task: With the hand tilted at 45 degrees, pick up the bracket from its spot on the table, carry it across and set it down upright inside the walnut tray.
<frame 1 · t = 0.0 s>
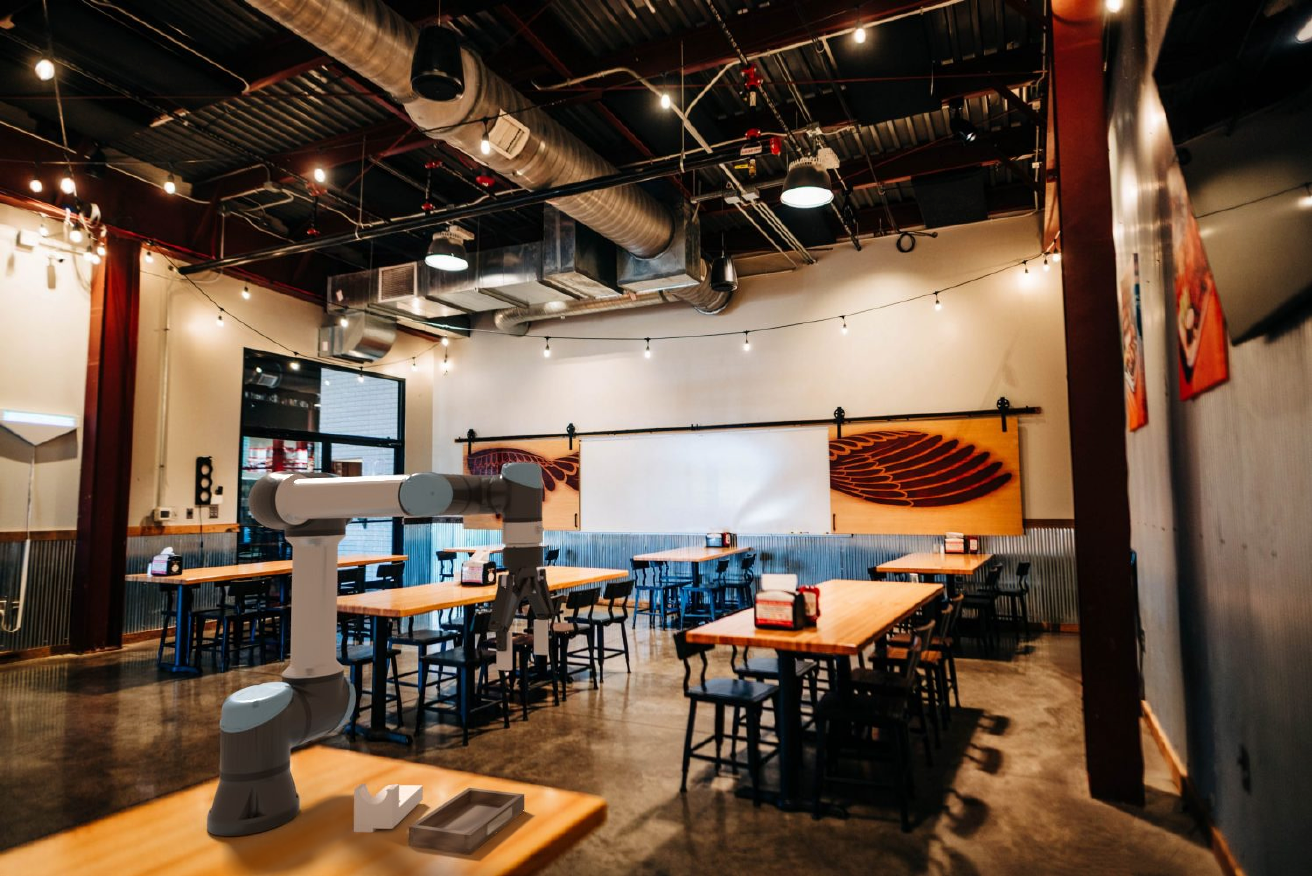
hand: (523, 662, 136), 28 cm above the table, tool pointing down, fingers open, 13 cm apart
walnut tray: (469, 827, 131), on the table
bracket: (389, 819, 137), on the table
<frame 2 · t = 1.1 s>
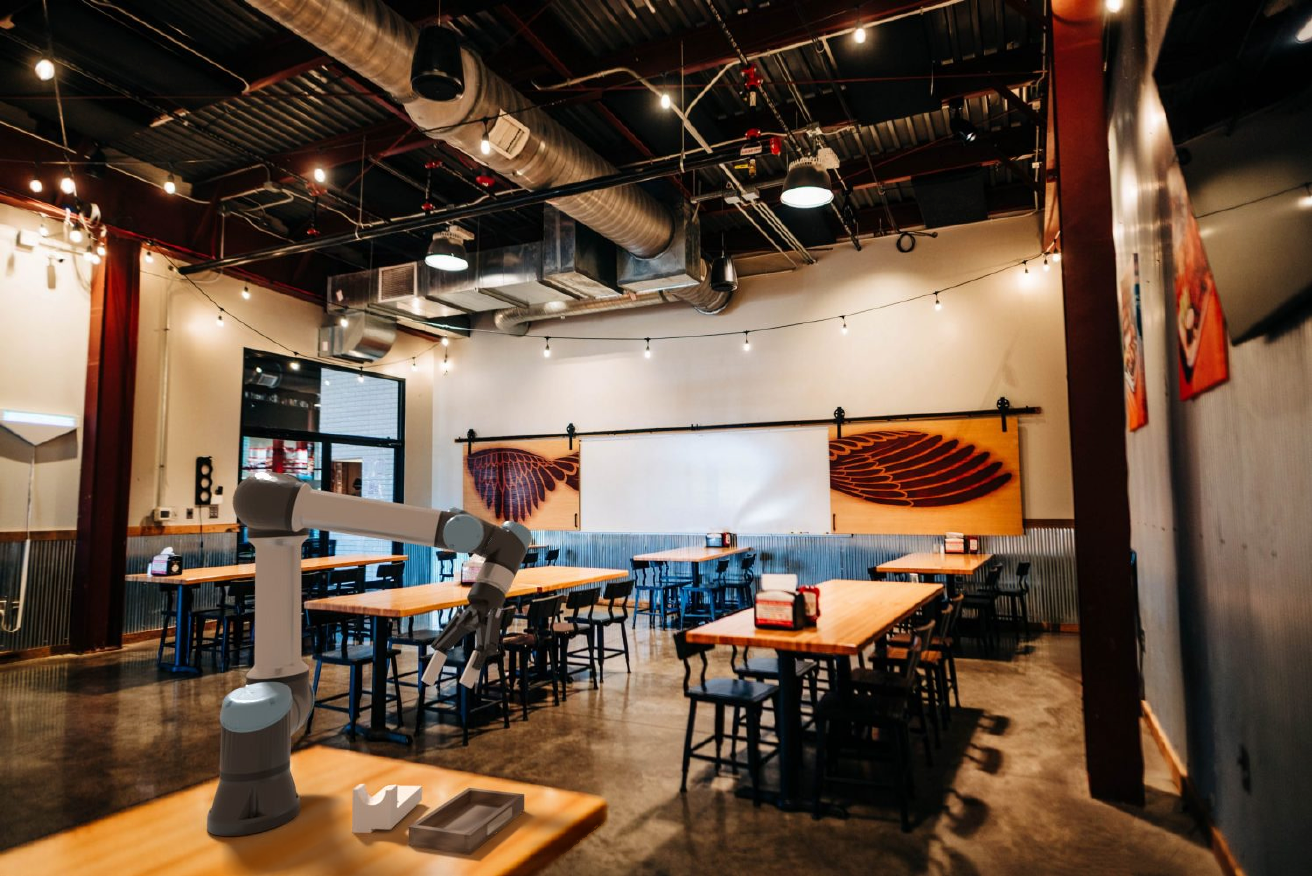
hand: (445, 684, 147), 22 cm above the table, tool tilted 35°, fingers open, 13 cm apart
nothing on the table moved.
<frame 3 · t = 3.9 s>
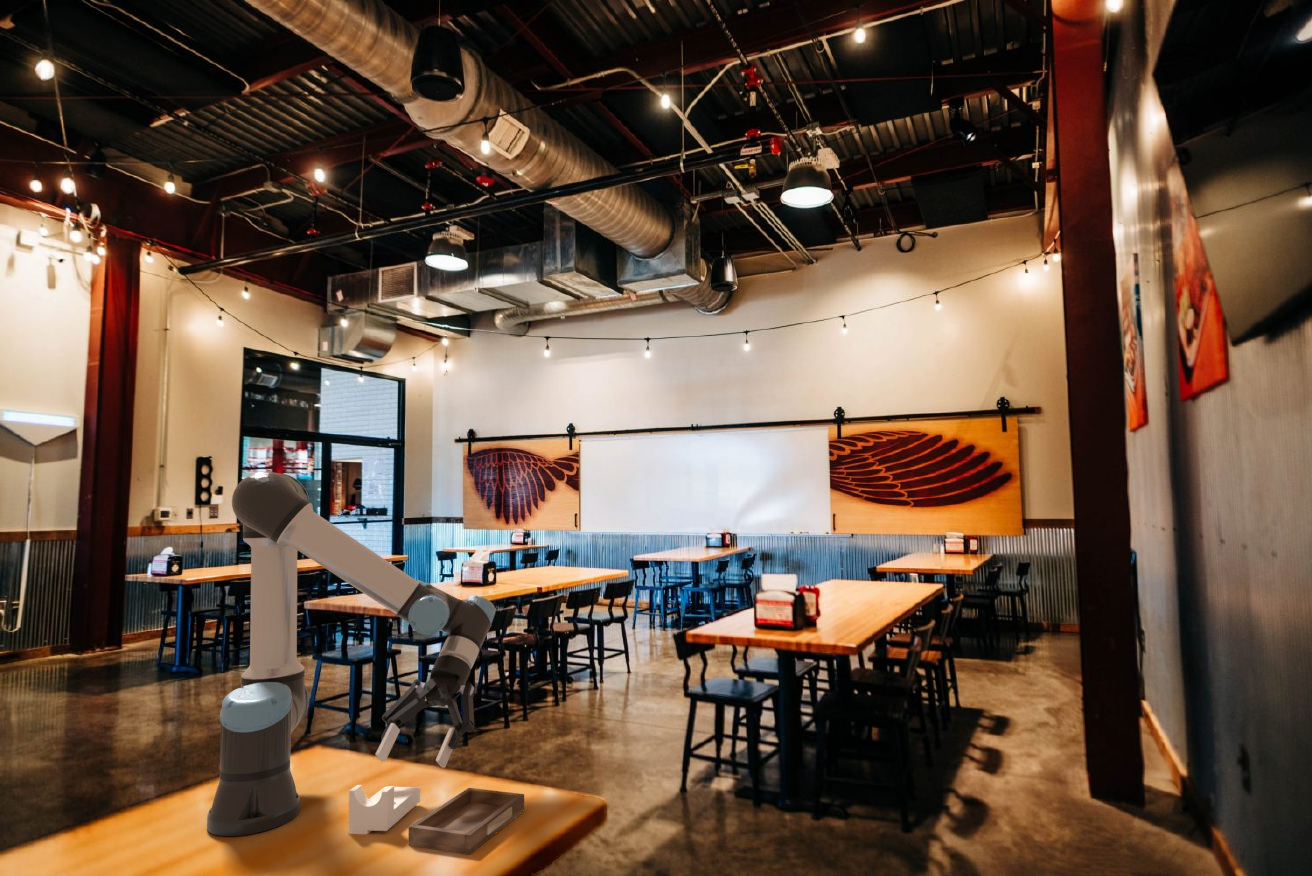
hand: (409, 761, 141), 9 cm above the table, tool tilted 45°, fingers open, 13 cm apart
nothing on the table moved.
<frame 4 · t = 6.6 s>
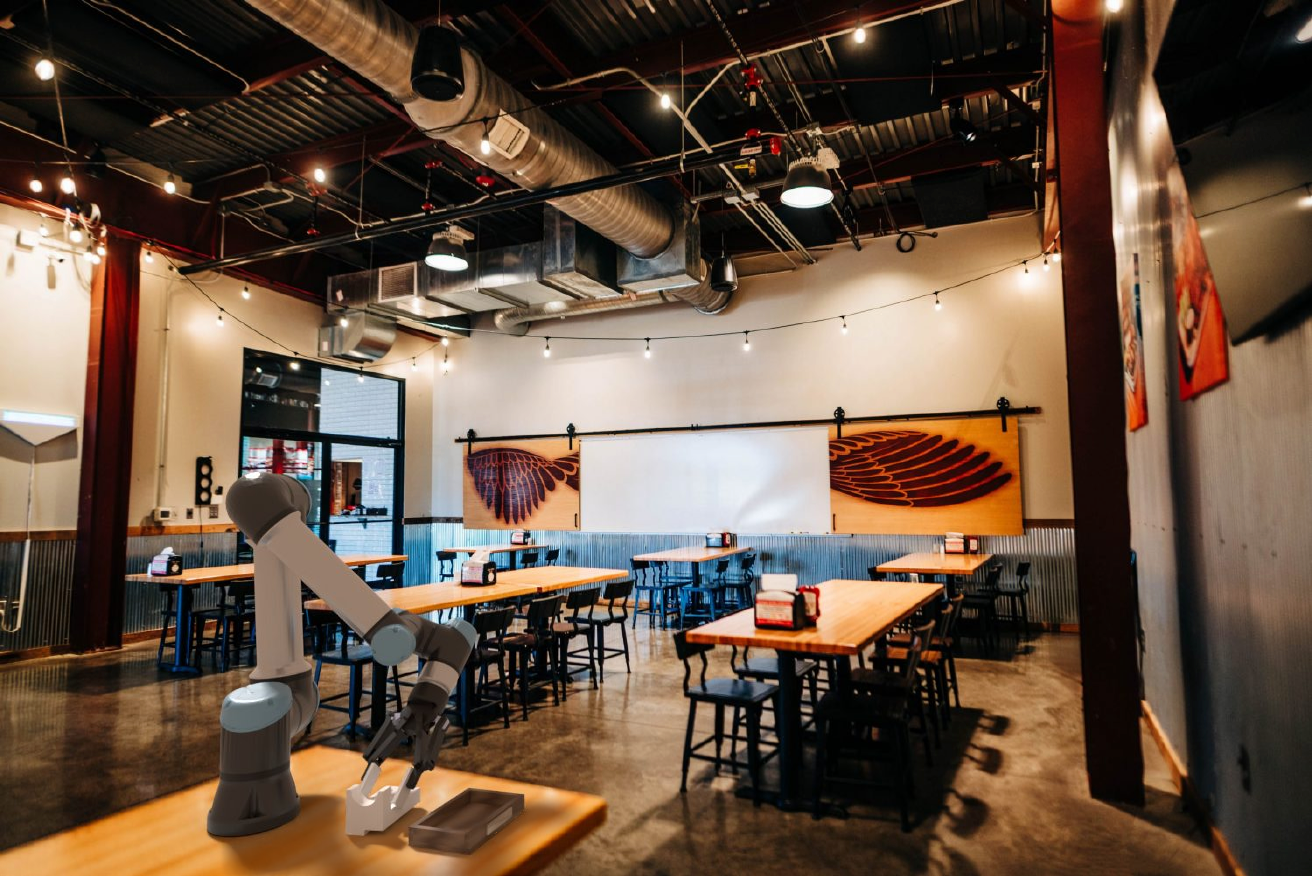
hand: (378, 803, 134), 4 cm above the table, tool tilted 45°, fingers closed on bracket, 8 cm apart
bracket: (384, 821, 136), on the table, touching gripper
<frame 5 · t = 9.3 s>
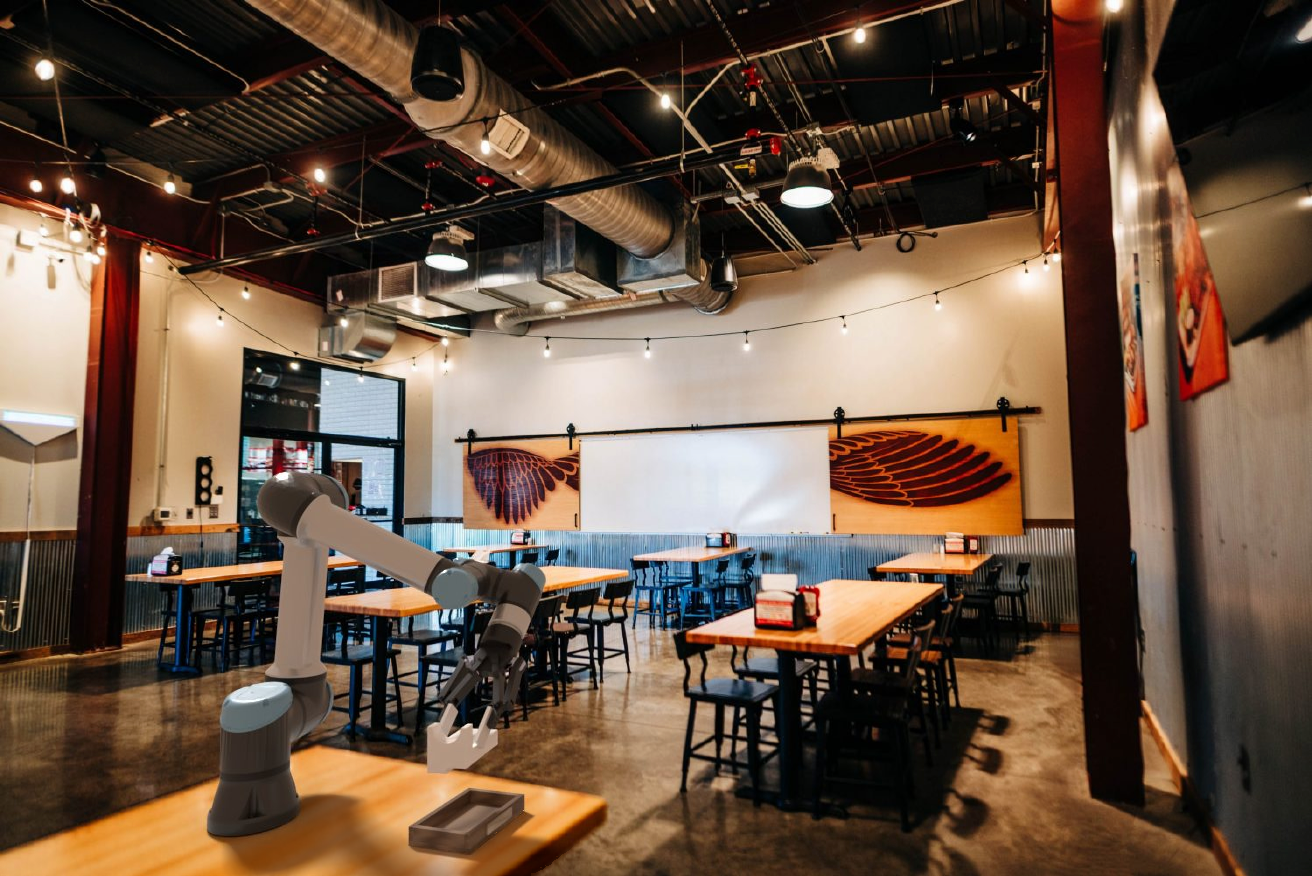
hand: (458, 743, 130), 16 cm above the table, tool tilted 45°, fingers closed on bracket, 7 cm apart
bracket: (464, 761, 131), point 12 cm above the table, touching gripper
when the fingers open (6 cm above the table, at t = 12.4 s): bracket stays where it is, resting on walnut tray.
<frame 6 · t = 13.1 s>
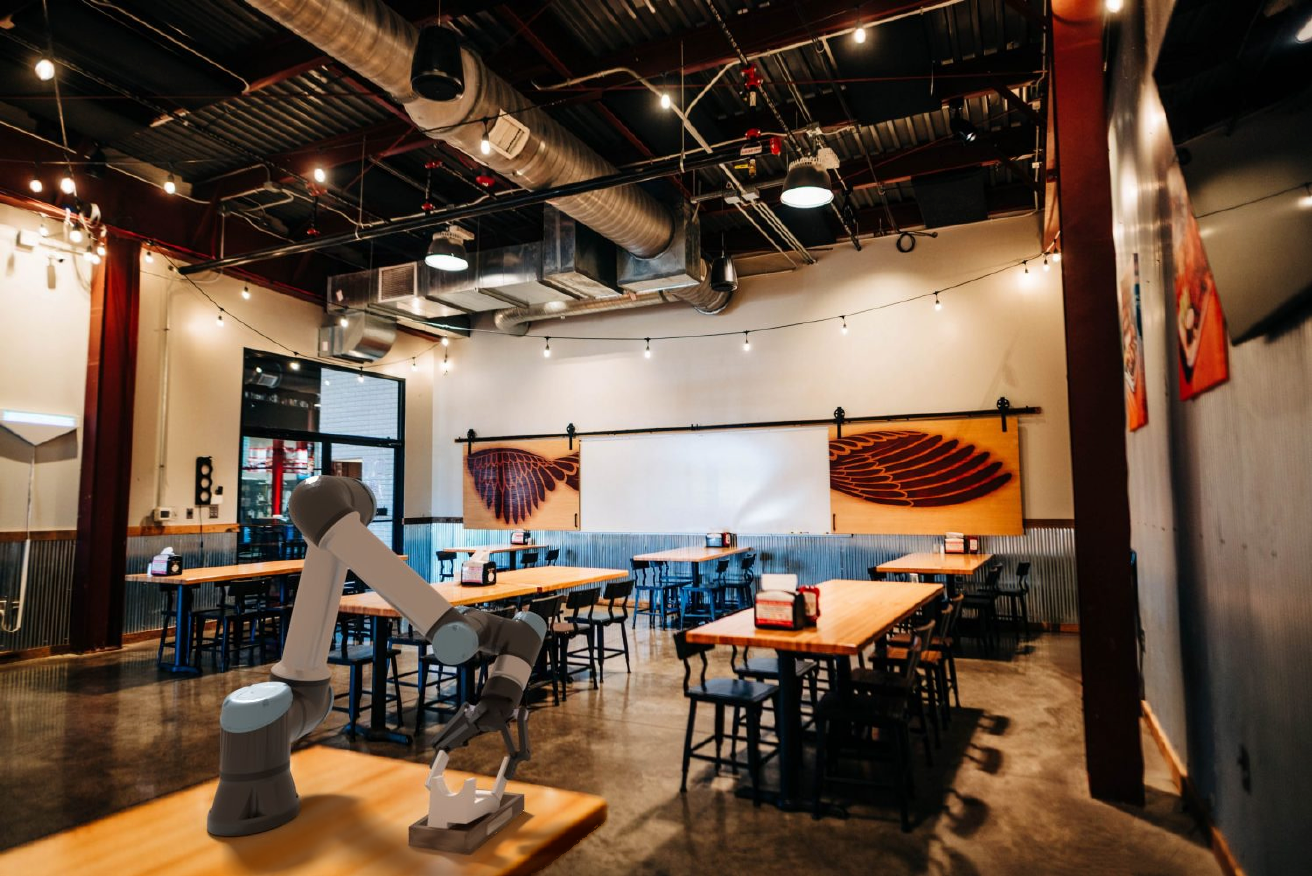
hand: (461, 793, 130), 7 cm above the table, tool tilted 45°, fingers open, 13 cm apart
bracket: (464, 820, 130), point 2 cm above the table, touching walnut tray
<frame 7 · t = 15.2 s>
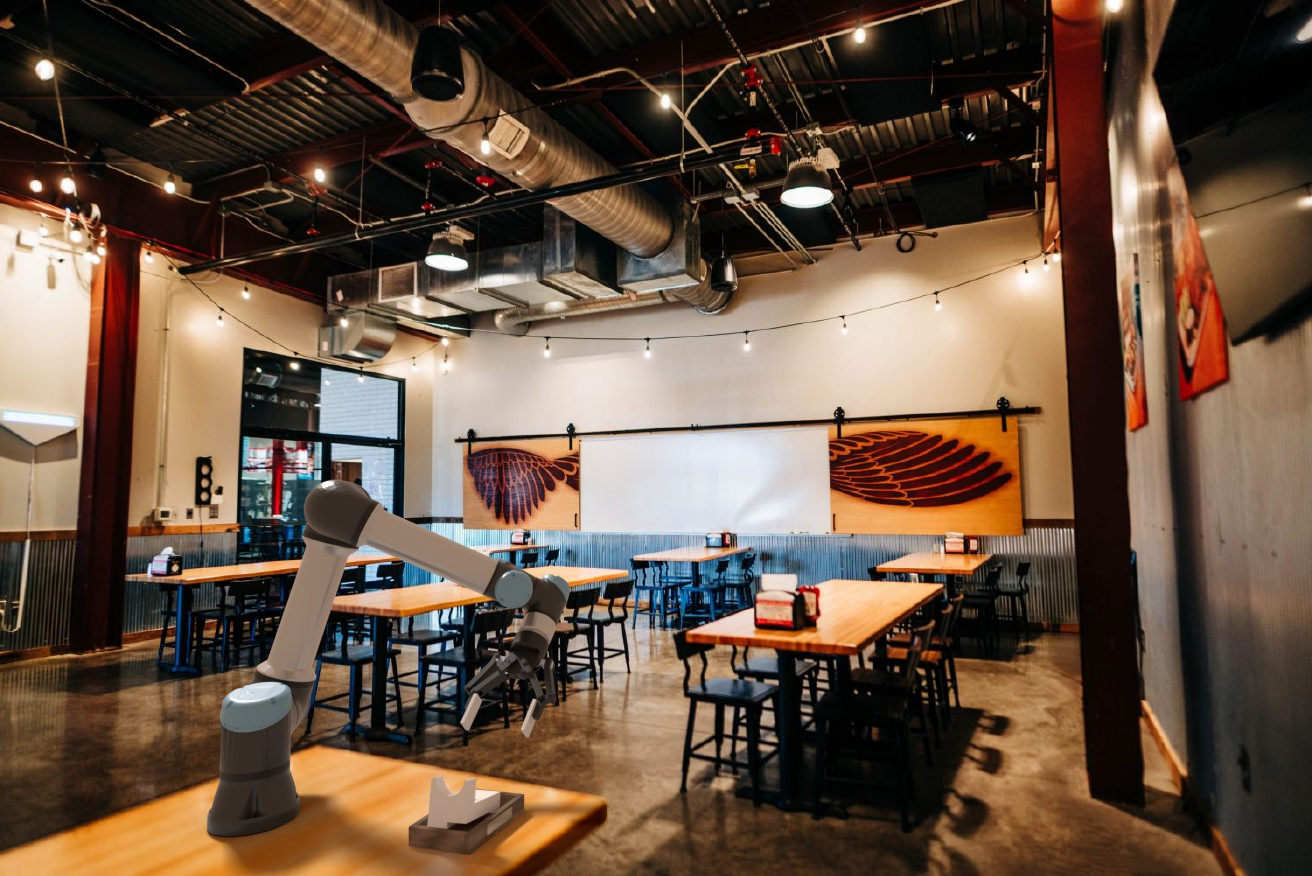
hand: (494, 730, 145), 13 cm above the table, tool tilted 45°, fingers open, 13 cm apart
nothing on the table moved.
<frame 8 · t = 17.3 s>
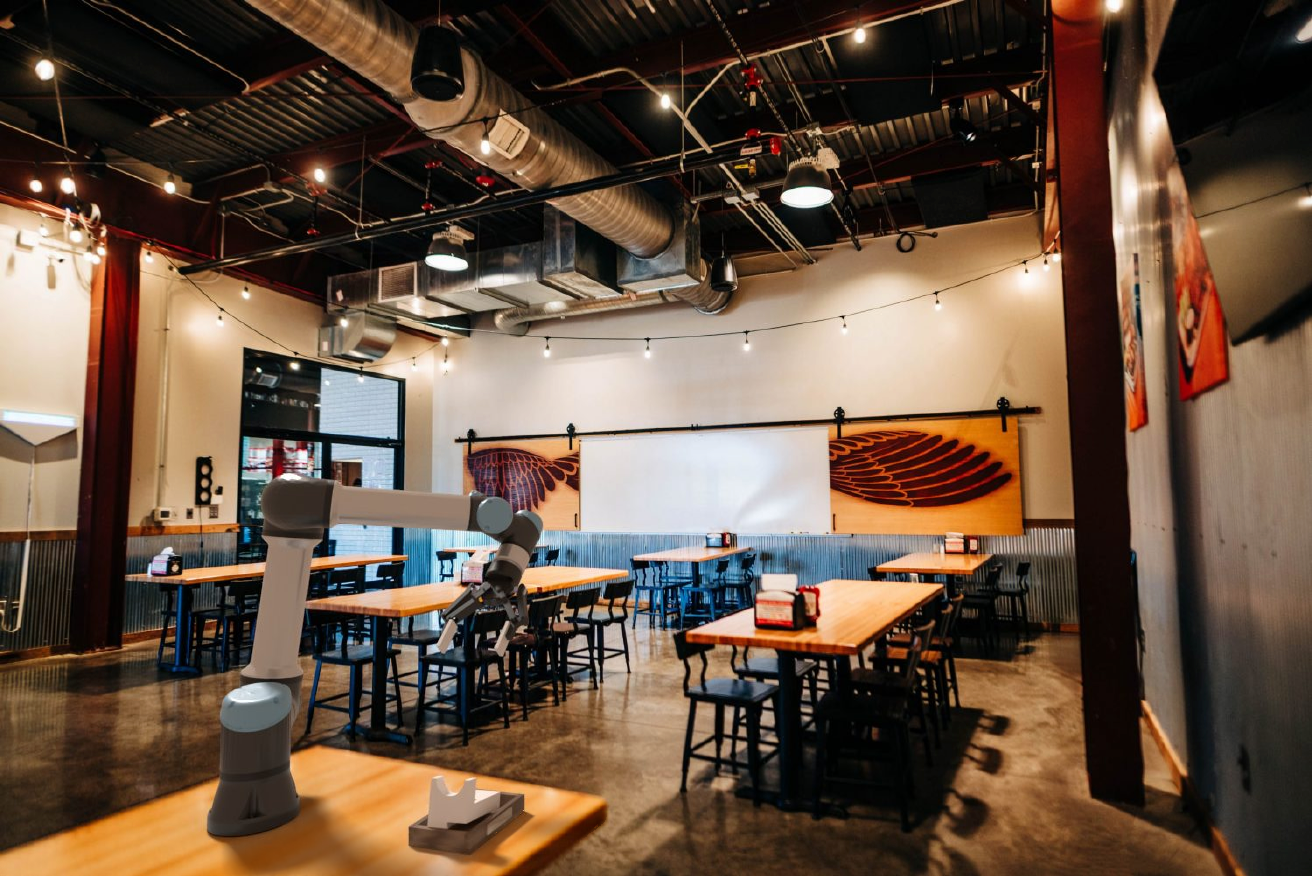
hand: (469, 651, 150), 28 cm above the table, tool tilted 45°, fingers open, 13 cm apart
nothing on the table moved.
at the end: bracket 1.6 cm off-centre on the walnut tray, point 1.7 cm above the walnut tray's base; bracket tilted 10°; the gripper is holding nothing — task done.
